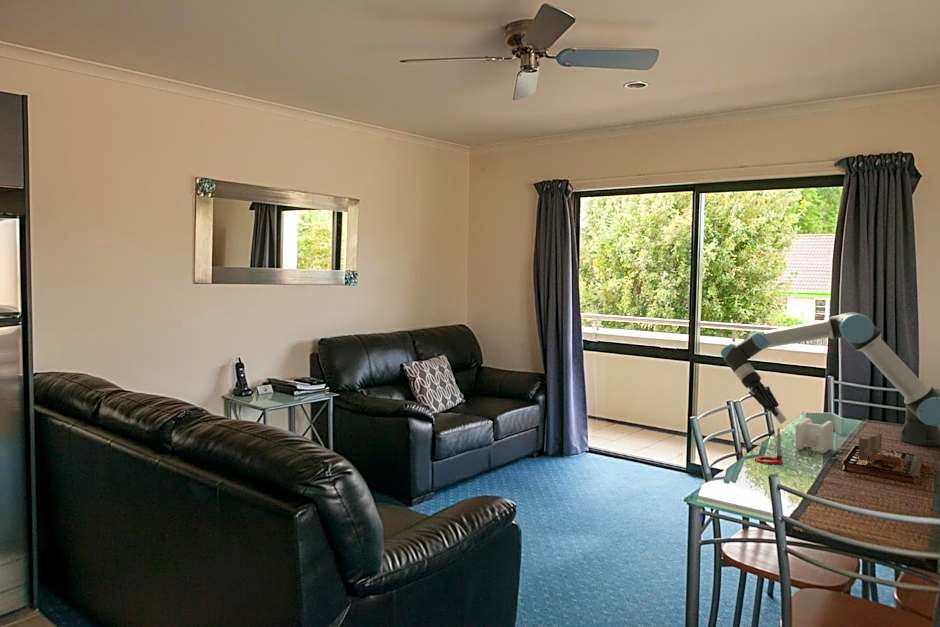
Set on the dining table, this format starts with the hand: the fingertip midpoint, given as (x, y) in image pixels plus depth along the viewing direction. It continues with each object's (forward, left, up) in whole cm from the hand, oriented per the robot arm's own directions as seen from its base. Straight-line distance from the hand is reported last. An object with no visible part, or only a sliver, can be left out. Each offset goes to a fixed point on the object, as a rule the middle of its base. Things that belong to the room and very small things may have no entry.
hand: (783, 421), depth 282 cm
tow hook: (+30, +11, -9) cm, 33 cm away
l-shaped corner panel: (-37, -1, -10) cm, 38 cm away
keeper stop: (0, +28, -9) cm, 30 cm away
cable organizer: (0, +13, -9) cm, 16 cm away
